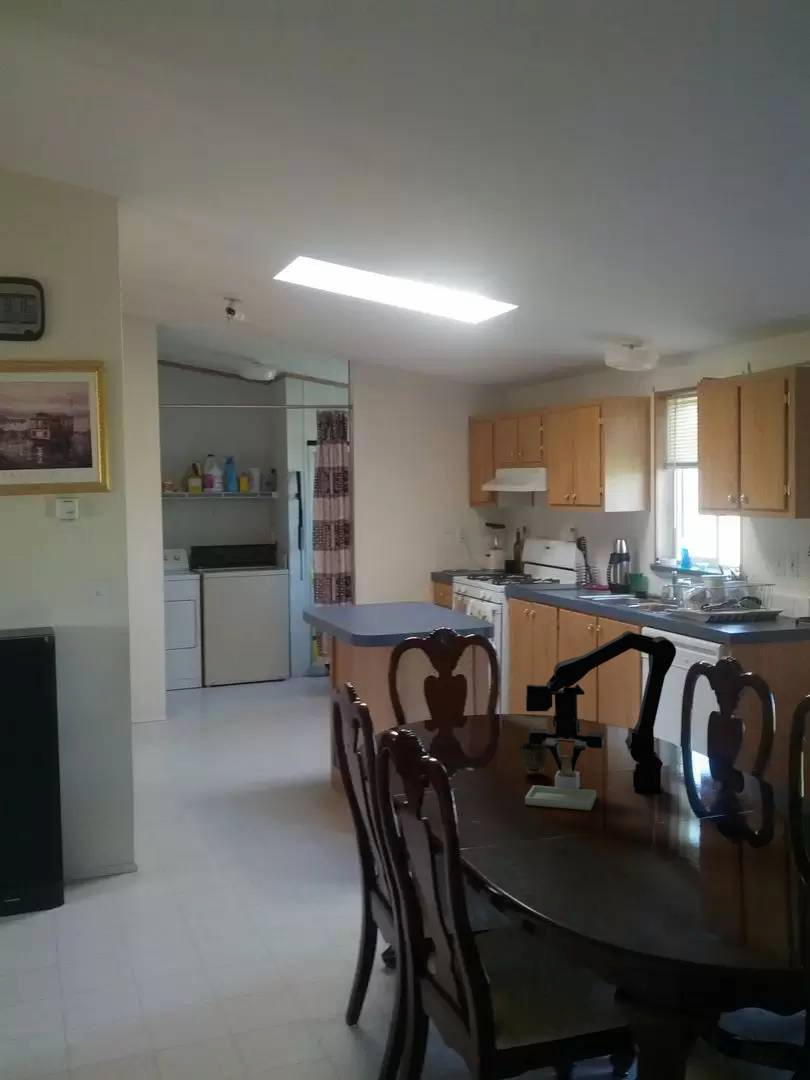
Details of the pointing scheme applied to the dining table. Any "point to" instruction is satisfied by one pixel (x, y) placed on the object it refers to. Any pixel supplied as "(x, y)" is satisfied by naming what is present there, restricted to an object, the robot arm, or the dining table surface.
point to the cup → (533, 757)
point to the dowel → (566, 766)
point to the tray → (561, 797)
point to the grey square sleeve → (567, 780)
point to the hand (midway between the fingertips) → (567, 771)
